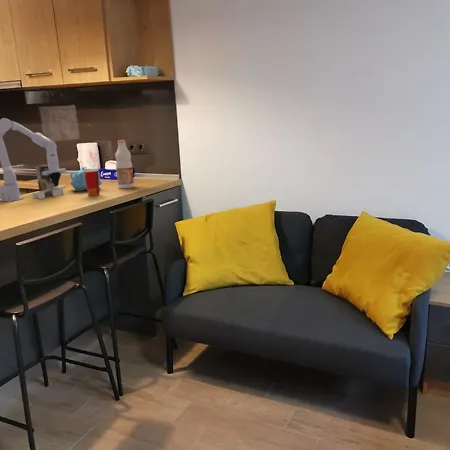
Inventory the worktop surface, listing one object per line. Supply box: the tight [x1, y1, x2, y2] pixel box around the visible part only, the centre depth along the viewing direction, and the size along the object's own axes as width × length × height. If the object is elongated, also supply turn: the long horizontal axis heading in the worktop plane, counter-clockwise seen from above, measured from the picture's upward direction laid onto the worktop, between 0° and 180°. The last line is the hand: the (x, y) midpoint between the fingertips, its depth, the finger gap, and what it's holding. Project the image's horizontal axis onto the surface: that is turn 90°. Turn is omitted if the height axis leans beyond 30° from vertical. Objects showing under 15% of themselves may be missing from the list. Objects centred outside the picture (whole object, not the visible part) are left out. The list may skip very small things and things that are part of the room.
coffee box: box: [35, 164, 59, 192], centre depth 274 cm, size 9×6×16 cm
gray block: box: [44, 192, 53, 199], centre depth 261 cm, size 4×4×2 cm
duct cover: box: [46, 184, 66, 190], centre depth 265 cm, size 9×5×3 cm, turn 146°
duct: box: [31, 188, 65, 200], centre depth 261 cm, size 16×6×3 cm, turn 146°
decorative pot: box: [69, 166, 103, 192], centre depth 277 cm, size 16×16×14 cm
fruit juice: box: [114, 139, 135, 189], centre depth 276 cm, size 9×9×28 cm
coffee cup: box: [83, 167, 100, 197], centre depth 256 cm, size 8×8×15 cm
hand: (56, 186), depth 265 cm, fingers closed
